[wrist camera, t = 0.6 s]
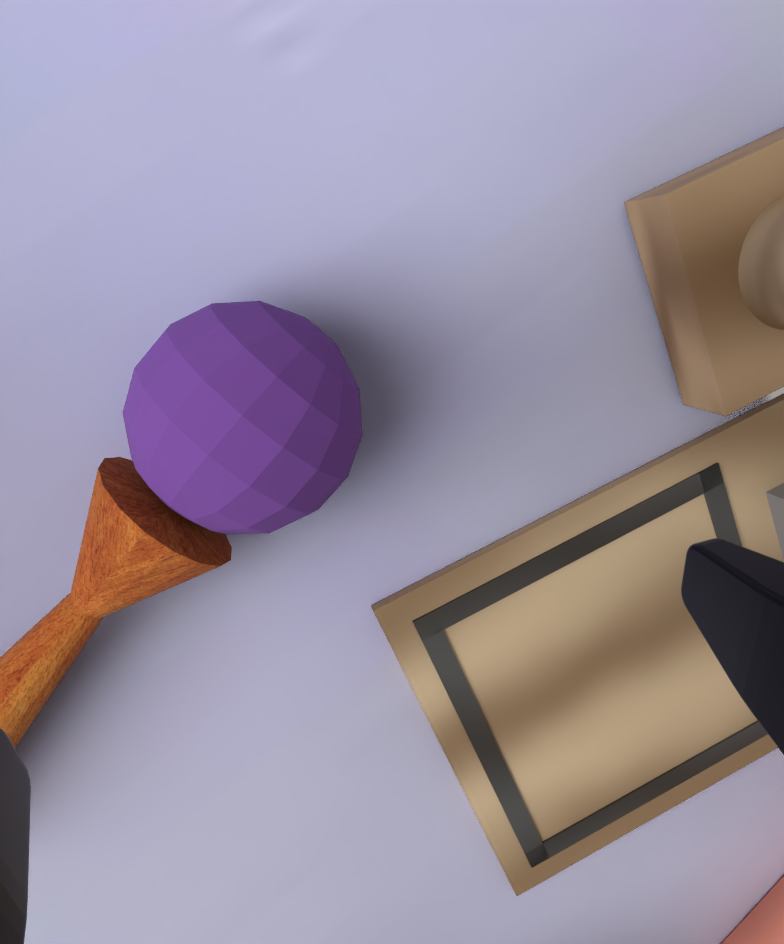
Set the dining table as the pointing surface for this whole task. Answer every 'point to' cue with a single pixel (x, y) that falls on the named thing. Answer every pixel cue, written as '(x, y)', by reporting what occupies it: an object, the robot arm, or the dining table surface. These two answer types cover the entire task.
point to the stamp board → (592, 653)
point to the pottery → (763, 921)
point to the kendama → (197, 473)
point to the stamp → (719, 274)
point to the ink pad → (777, 512)
